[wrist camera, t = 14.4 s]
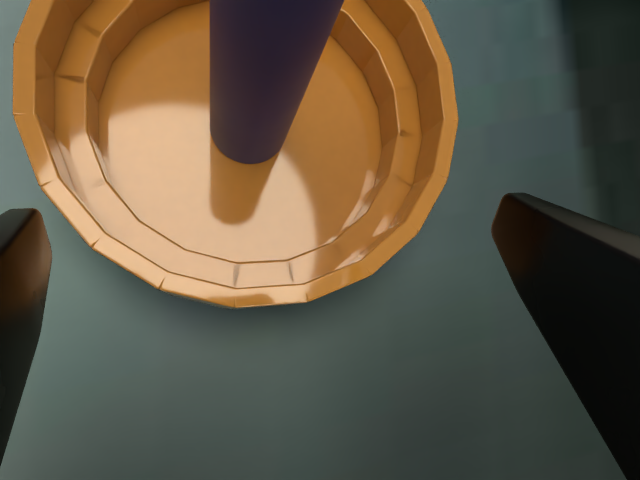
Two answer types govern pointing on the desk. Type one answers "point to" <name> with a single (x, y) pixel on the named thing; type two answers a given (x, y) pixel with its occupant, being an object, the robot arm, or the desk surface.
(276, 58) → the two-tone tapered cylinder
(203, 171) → the bowl
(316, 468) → the desk surface
